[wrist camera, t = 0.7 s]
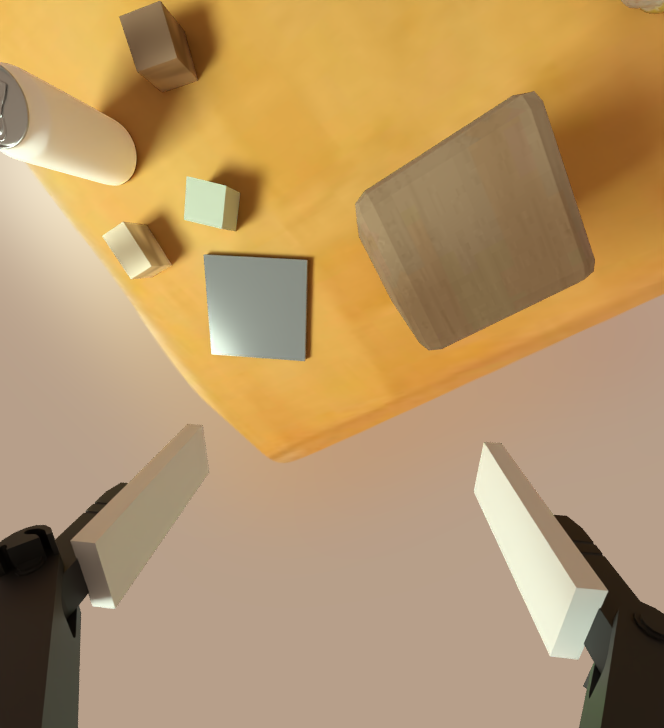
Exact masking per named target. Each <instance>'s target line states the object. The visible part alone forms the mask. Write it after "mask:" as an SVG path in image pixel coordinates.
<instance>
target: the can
mask: <svg viewBox="0 0 664 728" xmlns="http://www.w3.org/2000/svg"><path fill="white" fill-rule="evenodd" d="M0 151H1V152H2V153H4V154H6V155H7V156H9V157H12V158H14V159H17V160H20V161H23V162H27V163H30V164H34V165H37V166H41V167H44V168H48V169H52V170H55V171H59V172H63V173H66V174H70V175H74V176H77V177H81V178H85V179H88V180H92V181H96V182H100V183H103V184H108V185H120V184H123V183H125V182H126V181H128V180H129V179H130V178H131V176H132V175H133V173H134V170H135V167H136V161H137V156H136V149H135V145H134V142H133V140H132V138H131V136H130V134H129V133H128V132H127V130H126V129H125V128H124V127H123V126H122V125H121V124H120V123H118V122H117V121H115V120H114V119H112V118H110V117H109V116H107V115H105V114H103V113H101V112H100V111H98V110H96V109H94V108H92V107H91V106H89V105H87V104H85V103H83V102H81V101H80V100H78V99H76V98H74V97H72V96H71V95H69V94H67V93H65V92H63V91H61V90H60V89H58V88H56V87H54V86H52V85H50V84H49V83H47V82H45V81H43V80H41V79H39V78H38V77H36V76H34V75H32V74H30V73H28V72H26V71H24V70H22V69H20V68H18V67H16V66H14V65H11V64H7V63H1V62H0Z"/></svg>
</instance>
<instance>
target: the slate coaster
mask: <svg viewBox="0 0 664 728" xmlns="http://www.w3.org/2000/svg"><path fill="white" fill-rule="evenodd" d="M204 265H205V278H206V291H207V304H208V316H209V329H210V342H211V354H215V355H229V356H243V357H256V358H270V359H284V360H297V361H305V360H306V334H307V289H308V260H301V259H282V258H263V257H243V256H224V255H204Z"/></svg>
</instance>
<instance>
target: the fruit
mask: <svg viewBox="0 0 664 728" xmlns="http://www.w3.org/2000/svg"><path fill="white" fill-rule="evenodd" d="M621 1H622V2H623V3H624V4H625V5H626V6H627V7H629V8H640V9H641V10H643V11H644V12H647V13H653V14H657V13H663V12H664V0H621Z"/></svg>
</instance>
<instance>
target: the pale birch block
mask: <svg viewBox="0 0 664 728" xmlns="http://www.w3.org/2000/svg"><path fill="white" fill-rule="evenodd" d="M103 238H104V240H105V241H106V243H107V244H108V246H109V247H110V249H111V250H112V252H113V253H114V255H115V256H116V258H117V259H118V261H119V262H120V264H121V265H122V267H123V268H124V270H125V271H126V273H127V274H128V276H129V277H130V279H138V278H148V277H154V276H155V275H157V274H158V273H160V272H162V271H163V270H165V269H167V268H168V267H170V266H171V263H170V261H169V260H168V258H167V257H166V255H165V253H164V252H163V250H162V249H161V247H160V245H159V244H158V242H157V240H156V239H155V237H154V236H153V234H152V232H151V231H150V229H149V228H148V226H147V225H143V224H136V223H129V222H122V223H120V224H119V225H118V226H116V227H115V228H113V229H112V230H110V231H109V232H107V233H106V234H104V235H103Z"/></svg>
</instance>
